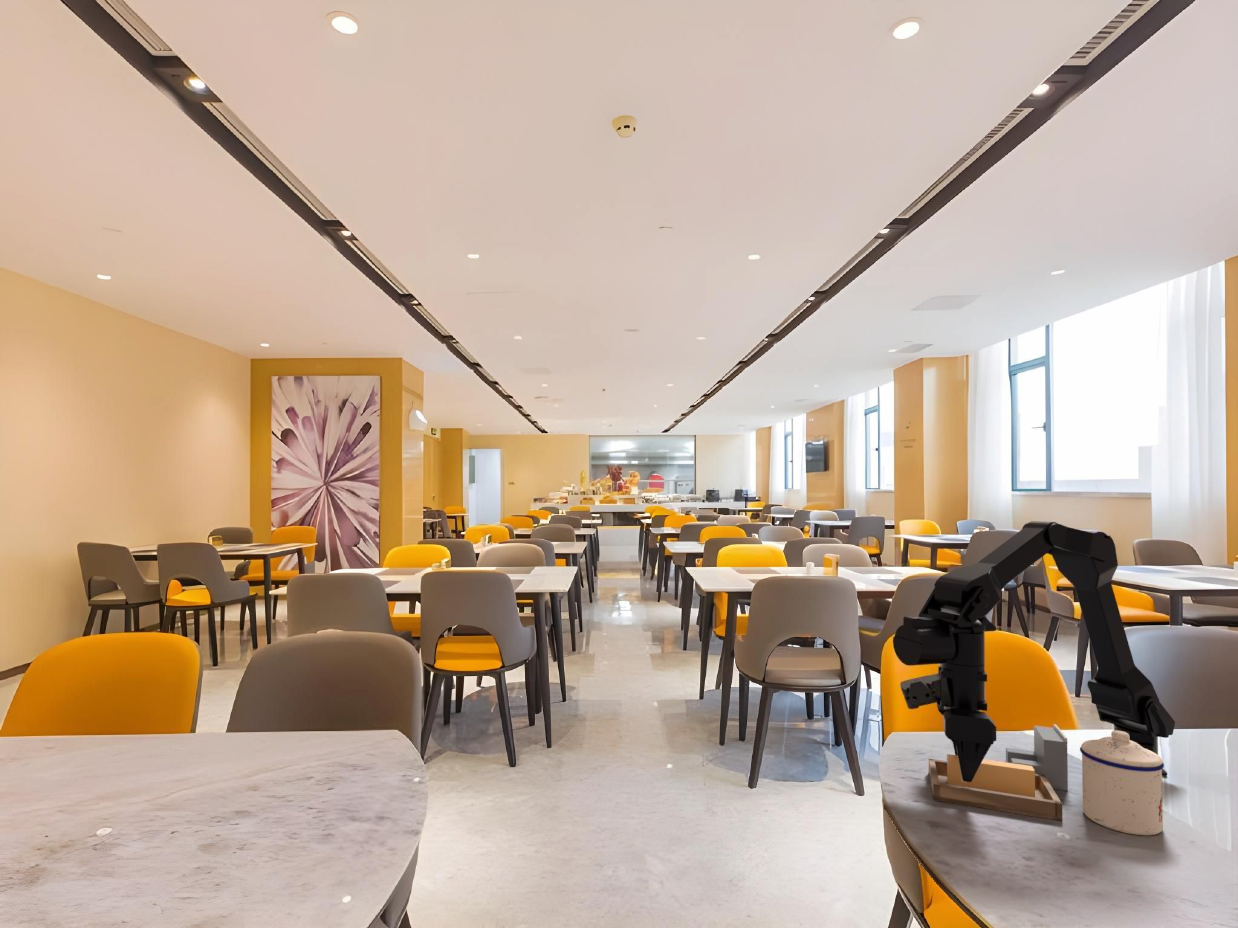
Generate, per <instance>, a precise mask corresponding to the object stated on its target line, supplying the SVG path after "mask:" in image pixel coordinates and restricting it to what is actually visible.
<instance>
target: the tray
mask: <svg viewBox="0 0 1238 928" xmlns="http://www.w3.org/2000/svg"><path fill="white" fill-rule="evenodd" d="M928 776H929V781H930V788H931V794H932V800H933V801H937V802H944V803H949V804H957V805H962V806H969V807H973V808H980V809H987V810H992V811H998V812H1005V813H1010V814H1011V813H1012V814H1017V815H1023V816H1029V817H1036V818H1042V819H1047V820H1048V819H1049V820H1052V821H1053V820H1055V821H1060V822H1063V803H1062V801H1061V800H1060V798H1059V796H1058V795H1057V793H1056V791H1055V789H1053V788H1052V786H1051V785H1050V783H1049V782H1048V780H1047V778H1046V777H1045V775H1041V774H1035V798H1034V797H1027V796H1021V795H1014V794H1008V793H1001V792H995V791H988V790H982V789H975V788H969V787H962V786H956V785H949V784H948V783H947V760H944V759H943V760H941V759H935V758H928Z"/></svg>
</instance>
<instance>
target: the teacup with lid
mask: <svg viewBox="0 0 1238 928" xmlns="http://www.w3.org/2000/svg"><path fill="white" fill-rule="evenodd" d="M1110 735H1111V736H1104V737H1101V738H1099V739H1089V740H1085V741H1084V742H1082V744H1081V746H1080V747H1079V752H1081V761H1082V762H1081V763H1082V764H1081V765H1082V767H1081V770H1082V771H1081V773H1082V779H1081V780H1082V811H1083V813H1084V815H1085V816H1086V817H1087V818H1088V819H1090V820H1091V821H1093V822H1095V824H1098V825H1101V826H1102V827H1105V828H1108V829H1110V830H1114V831H1117V832H1121V833H1125V834H1129V835H1130V834H1131V835H1134V836H1135V835H1136V836H1153V835H1154V836H1155V835H1158V834H1160V833H1161V832H1163V829H1164V825H1163V824H1164V821H1163V813H1164V812H1163V775H1162V768H1163V769H1164V767H1165V764H1164V762H1163V759H1162V758H1161V756H1160V755H1159V754H1158V755H1157V754H1156V753H1154V752H1152V751H1150V750H1148V749H1145V748H1143V747H1142V746H1140V745H1139V744H1137V743H1136V742H1134V741H1131V740H1130V736H1129V734H1128V733H1126V732H1123V731H1118V730H1114V729H1113V730H1112V731H1111V733H1110Z"/></svg>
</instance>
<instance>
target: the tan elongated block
mask: <svg viewBox="0 0 1238 928" xmlns="http://www.w3.org/2000/svg"><path fill="white" fill-rule="evenodd" d="M946 761H947V783H948V784H949V785H956V786H962V787H969V788H975V789H982V790H988V791H995V792H1001V793H1008V794H1014V795H1021V796H1027V797H1034V798H1035V770H1034V769H1033V767H1032V766H1028V765H1021V764H1014V763H1007V762H1006V761H1005V762H1004V761H998V760H991V759H985V758H984V759H983V761H982V762H981V764H980V766H979V768H978V770H977V772H976V774H975V776H974V778H973V780H972V782H966V781H963V779H962V774H961V769H960V764H959V759H958V756H957V755H955V754H948V753H947V754H946Z"/></svg>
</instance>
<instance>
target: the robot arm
mask: <svg viewBox="0 0 1238 928" xmlns="http://www.w3.org/2000/svg"><path fill="white" fill-rule="evenodd" d="M1116 548H1117V547H1116V544H1115V541H1114V539H1113V537H1112V536H1111V535H1108V534H1106V532H1103V531H1094V530H1082V529H1078V528H1074V527H1073V528H1072V527H1069V526H1066V525H1063V524H1061V523H1058V522H1056V521H1039V520H1037V521H1035V520H1031V521H1029V522H1027V523H1025V524H1024V525H1023V526H1022V528H1021V530H1019V531H1018V532H1017V533H1015V534H1014V535H1012V536H1011V537H1010V538H1008V539H1007V540H1006V541H1004V542H1003V543H1002V544H1001V545H999V546H997V547H996V548H995V549H994V550H992V551H991V552H990V553H988V554H987V555H985V556H984V557H983V558H982V559H980V560H978V561H977V562H976V563H974V564H971V565H967V566H966V565H965V566H963V567H959V568H955V569H953V570H952V571H949V572H947V573H945V574H943V575H940V576H939V577H938V578H937V579H936V581H935V582H934V584H933V586H934V588H933V590H932V591H931V593H930V595H929V596H928V598H927V600H926V601H925V603H924V605H923V606H922V608H921V609H920V611H919V614H918V617H916V616H910V615H908V616H903V619H902V620H903V621H902V622H903V623H902V625H900V626H898V627H897V629H896V631H895V633H894V636H893V637H892V645H893V651H894V652H895V655H896V657H897V658H898V660H899V661H900V662H901V663H902V664H904V665H905V666H910V667H911V666H912V667H913V666H924V665H938V666H937V673H934V674H929V675H922V676H919V677H918V676H917V677H914V678H910V679H907V680H902V681H901V682H900V684H899V685H900V689H901V693H902V694H903V698H904V700H905V703H906V705H907V708H908V709H909V710H915V709H919V707H921V706H925V705H926V706H927V705H931V704H935V703H936V707H937V710H938V713H940V714H941V715H942V723H943V731H944V734H945V737H946V738H947V739H948V740H950V741H951V742H952V746H953V751H954V755H957V756H958V759H959V764H960V769H961V774H962V779H963V781H966V782H972V780H973V778H974V776H975V774H976V772H977V770H978V768H979V766H980V764H981V762H982V761H983V759H985V757H986V754H987V753H988V751H989V750H990V748H991V746H992V745H994V743H995V742H997V726H996V724H995V721H994V719H992V718H991V716H990V715H988V714H987V713H986V712H987V711H988V703H987V701H986V682H988V674H987V672H986V670H985V668H986V664H985V663H986V662H985V661H986V657H985V655H986V653H985V652H986V651H985V649H986V648H985V647H986V645H985V639H986V637H985V633H986V632H995V631H997V626H996V625H995V624H993V623H992V622H991V621H990V620H989V619H988V618H987V615H988V614H990V612H991V611H992V610H993V609H994V608H995V606H996V605H997V604H998V603H999V602H1000V601H1001V598H1002V592H1003V589H1004V588H1005V587H1006V586H1007V585H1008V584H1009V583H1011V582H1012V581H1013V580H1015V579H1016V578H1017V577H1018V576H1020V575H1021V574H1023V572H1025V571H1026V570H1028V568H1030V567H1031V566H1032V565H1034V564H1035V563H1036V562H1037V561H1039V560H1040V559H1042V558H1043V557H1044V556H1046V554H1048V555H1050V556H1051V557H1052V559H1053V561H1054V563H1055V565H1056V568H1057V570H1058V571H1059V573H1060V574H1061V575H1062V576H1064V578H1066V580H1067V581H1068V582H1069V583H1070V584H1071V585H1072V586H1073V588H1074V590H1075V594H1076V597H1077V600H1078V604H1079V606H1080V610H1081V615H1082V617H1083V620H1084V621H1083V622H1084V624H1085V628H1086V630H1087V634H1088V635H1087V636H1088V638H1089V641H1090V644H1091V648H1092V651H1093V655H1094V660H1095V662H1096V666H1097V670H1096V672H1095V673H1094V676H1093V678H1092V679H1091V680H1088V681H1087V684H1086V685H1087V688H1088V690H1089V692H1090V697H1091V704H1092V705H1095V707H1096V711H1097V714H1098V718H1099V721H1101V722H1103V723H1104V722H1106V723H1108V724H1111V725H1113V731H1114V730H1118V731H1123V732H1126V733H1128V734H1129V736H1130V740H1131V741H1134V742H1136V743H1137V744H1139V745H1140V746H1142V747H1143V748H1145V749H1148V750H1150V751H1152V752H1154V753H1156V754H1157V755H1158V756H1159V738H1170V737H1169V736H1172V735H1173V734H1174V732H1175V731H1174V730H1175V726H1176V722H1175V719H1174V718H1173V717H1172V716H1171V715H1170V713H1169V712H1168V711H1167V710H1166V708H1165V707H1164V706H1163V704H1162V703H1161V702H1160V699H1159V696H1158V693H1157V691H1156V689H1155V687H1154V685H1153V683H1152V681H1151V680H1150V679H1149V678H1148V677H1147V676H1146V675H1145V674H1144V673H1143V672H1142V670H1140V669H1139V668H1138V667H1137V666H1136V664H1135V662H1134V658H1133V654H1132V651H1131V647H1130V644H1129V641H1128V637H1127V634H1126V630H1125V626H1124V623H1123V620H1122V617H1121V612H1120V609H1119V605H1118V602H1117V598H1116V595H1115V592H1114V589H1113V585H1112V580H1113V577H1114V575H1115V573H1116V571H1117V568H1118V566H1119V562H1118V557H1117V549H1116ZM985 711H986V712H985ZM1162 776H1166V777H1167V776H1168V771H1166V770H1165V769H1164V767H1163V768H1162Z"/></svg>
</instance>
